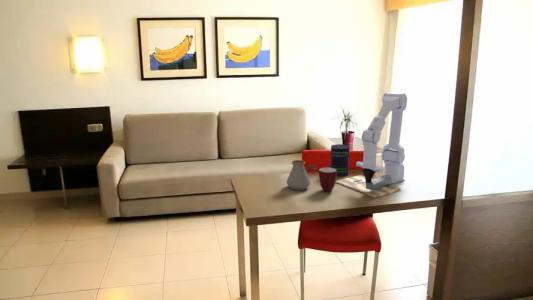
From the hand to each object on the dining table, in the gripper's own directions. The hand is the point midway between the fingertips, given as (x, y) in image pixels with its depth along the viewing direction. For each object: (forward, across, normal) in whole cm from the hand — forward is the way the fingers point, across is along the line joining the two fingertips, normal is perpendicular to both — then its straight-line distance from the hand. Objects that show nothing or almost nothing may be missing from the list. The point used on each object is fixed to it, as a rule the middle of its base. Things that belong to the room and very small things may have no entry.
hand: (368, 184), depth 180 cm
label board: (+3, -6, +5) cm, 8 cm away
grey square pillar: (+2, +2, +6) cm, 6 cm away
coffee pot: (+4, -18, -24) cm, 30 cm away
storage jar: (+4, -29, +8) cm, 30 cm away
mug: (+4, -11, -15) cm, 19 cm away
